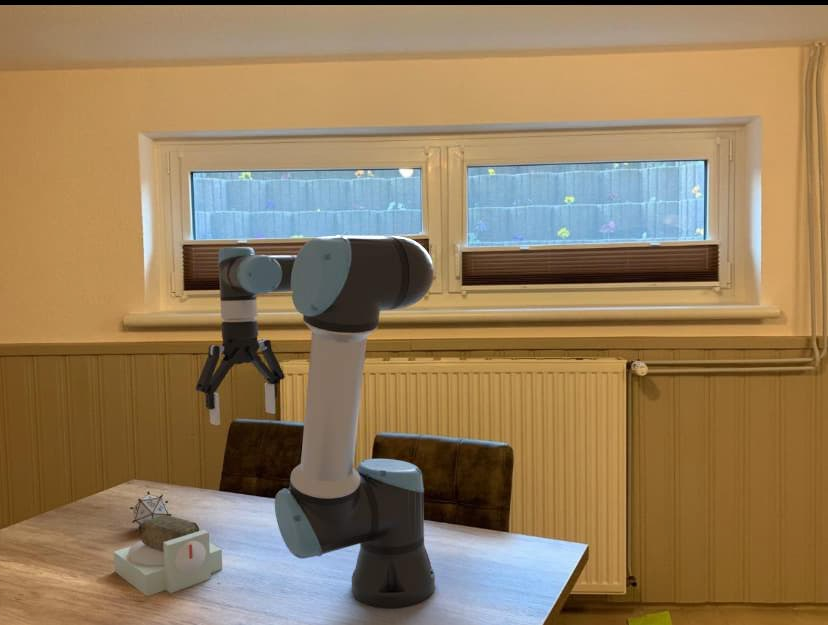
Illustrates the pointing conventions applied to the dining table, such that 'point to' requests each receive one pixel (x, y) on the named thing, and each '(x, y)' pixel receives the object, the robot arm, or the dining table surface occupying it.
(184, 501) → the dining table surface
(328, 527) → the robot arm
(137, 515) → the game die
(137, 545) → the scale
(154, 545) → the stone block
